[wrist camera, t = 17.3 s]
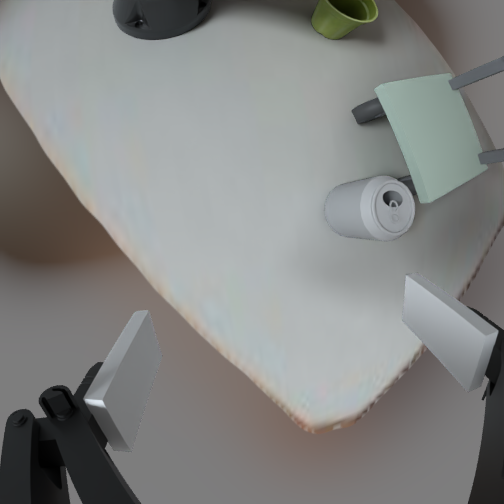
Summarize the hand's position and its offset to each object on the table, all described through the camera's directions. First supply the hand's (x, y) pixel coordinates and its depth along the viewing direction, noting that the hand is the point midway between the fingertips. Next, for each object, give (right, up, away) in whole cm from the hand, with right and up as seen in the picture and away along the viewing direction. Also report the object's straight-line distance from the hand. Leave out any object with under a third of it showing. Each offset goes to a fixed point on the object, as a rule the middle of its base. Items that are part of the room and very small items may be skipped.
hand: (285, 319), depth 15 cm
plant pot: (+11, +40, +25) cm, 49 cm away
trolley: (+23, +21, +29) cm, 42 cm away
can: (+12, +9, +28) cm, 31 cm away
